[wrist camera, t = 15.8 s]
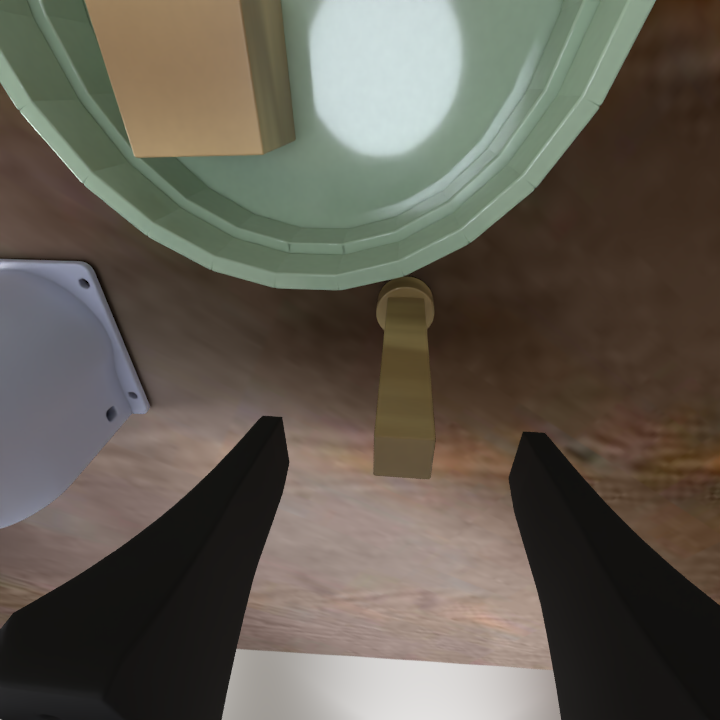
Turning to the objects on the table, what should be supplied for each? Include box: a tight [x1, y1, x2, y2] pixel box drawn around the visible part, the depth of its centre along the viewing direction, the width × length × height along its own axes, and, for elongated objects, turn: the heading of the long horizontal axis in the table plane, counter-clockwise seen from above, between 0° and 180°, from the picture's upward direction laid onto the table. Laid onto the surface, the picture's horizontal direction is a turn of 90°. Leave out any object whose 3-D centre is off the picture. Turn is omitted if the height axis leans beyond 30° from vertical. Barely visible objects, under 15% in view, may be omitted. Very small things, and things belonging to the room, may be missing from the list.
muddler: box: [373, 277, 436, 479], centre depth 15 cm, size 3×3×10 cm
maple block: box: [85, 0, 296, 158], centre depth 12 cm, size 4×4×4 cm
